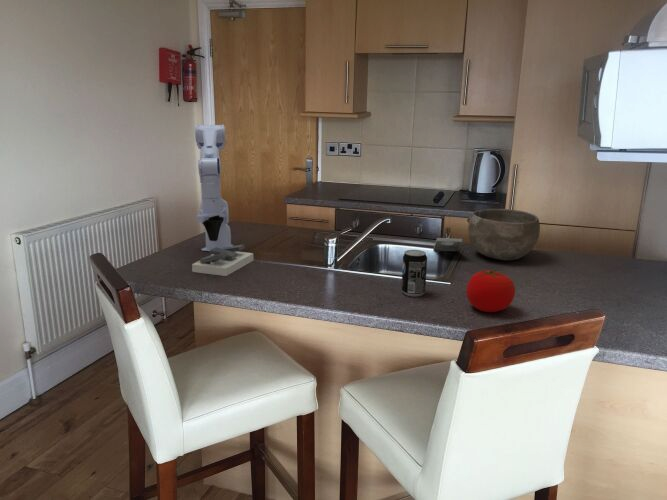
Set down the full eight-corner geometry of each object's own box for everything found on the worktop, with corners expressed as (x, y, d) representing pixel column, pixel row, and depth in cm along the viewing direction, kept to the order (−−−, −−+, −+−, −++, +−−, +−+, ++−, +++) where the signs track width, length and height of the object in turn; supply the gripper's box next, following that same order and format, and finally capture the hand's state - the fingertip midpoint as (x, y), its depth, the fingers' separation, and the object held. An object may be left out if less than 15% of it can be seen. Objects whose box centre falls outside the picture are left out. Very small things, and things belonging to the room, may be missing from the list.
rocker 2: (215, 250, 180) (216, 247, 180) (237, 256, 178) (237, 253, 178) (209, 253, 177) (210, 249, 177) (231, 259, 175) (232, 256, 174)
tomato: (466, 299, 151) (469, 262, 148) (512, 304, 147) (516, 267, 144) (463, 314, 140) (466, 275, 137) (513, 320, 137) (517, 280, 134)
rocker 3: (224, 250, 186) (223, 247, 185) (244, 247, 183) (243, 244, 182) (218, 253, 182) (218, 250, 182) (239, 250, 179) (238, 247, 179)
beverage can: (407, 287, 159) (408, 248, 156) (428, 292, 156) (431, 251, 153) (397, 294, 154) (399, 253, 151) (419, 299, 151) (421, 257, 147)
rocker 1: (207, 260, 176) (205, 256, 176) (227, 255, 173) (226, 252, 172) (200, 263, 172) (199, 259, 172) (221, 258, 169) (220, 255, 169)
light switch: (457, 246, 198) (462, 236, 184) (457, 262, 197) (462, 253, 183) (433, 245, 199) (436, 235, 185) (433, 261, 198) (436, 252, 184)
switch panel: (222, 256, 189) (221, 247, 188) (253, 260, 185) (253, 251, 184) (192, 271, 172) (191, 261, 171) (226, 276, 168) (225, 265, 168)
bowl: (468, 265, 182) (472, 220, 178) (461, 246, 205) (463, 206, 201) (544, 268, 179) (549, 223, 175) (527, 248, 202) (532, 208, 198)
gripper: (212, 192, 175) (214, 234, 179) (186, 200, 162) (189, 244, 166) (232, 194, 173) (233, 236, 177) (207, 202, 160) (209, 247, 163)
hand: (213, 240), depth 171 cm, fingers closed
